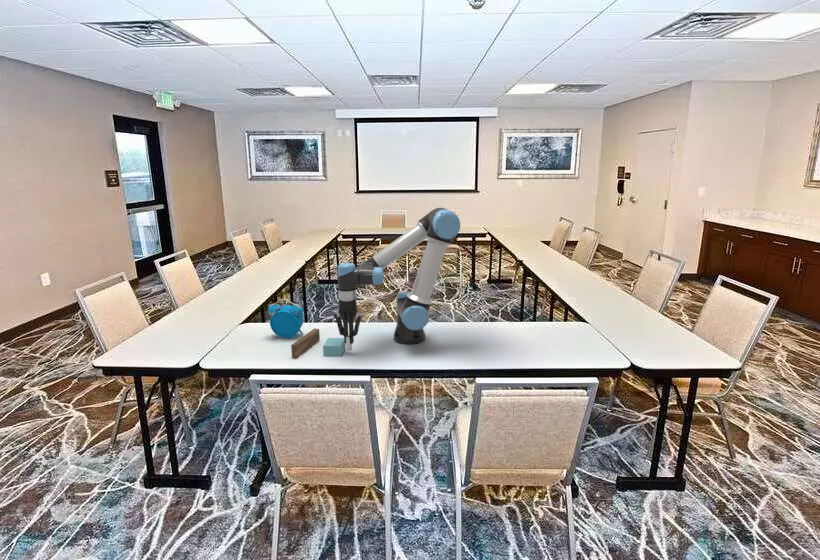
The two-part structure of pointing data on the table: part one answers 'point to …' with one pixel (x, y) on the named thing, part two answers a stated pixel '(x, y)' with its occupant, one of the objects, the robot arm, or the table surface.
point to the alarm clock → (286, 319)
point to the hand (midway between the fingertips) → (349, 350)
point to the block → (334, 347)
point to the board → (305, 343)
